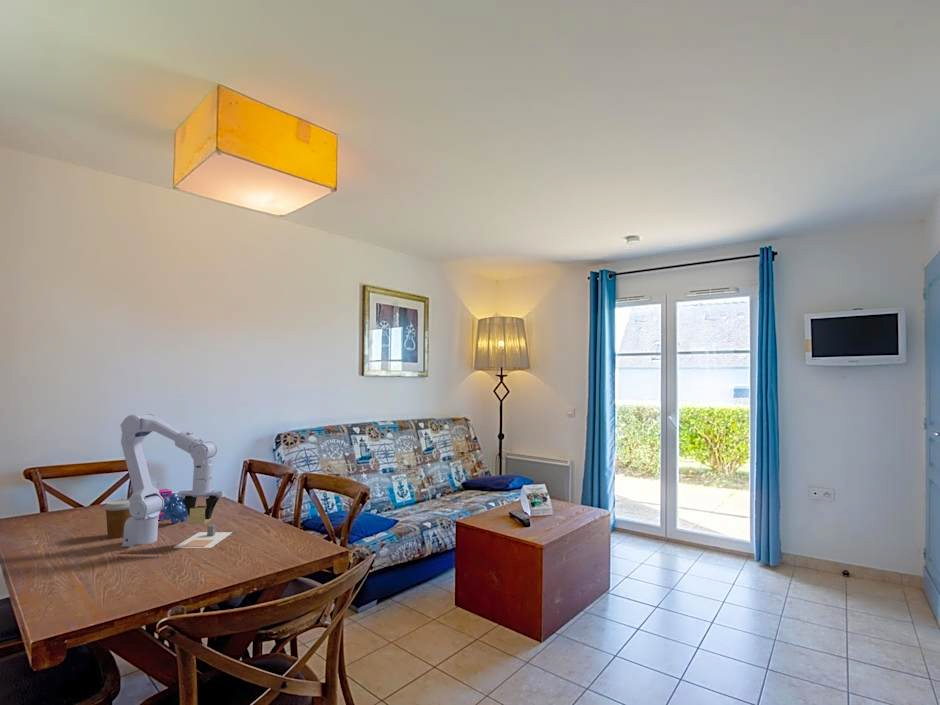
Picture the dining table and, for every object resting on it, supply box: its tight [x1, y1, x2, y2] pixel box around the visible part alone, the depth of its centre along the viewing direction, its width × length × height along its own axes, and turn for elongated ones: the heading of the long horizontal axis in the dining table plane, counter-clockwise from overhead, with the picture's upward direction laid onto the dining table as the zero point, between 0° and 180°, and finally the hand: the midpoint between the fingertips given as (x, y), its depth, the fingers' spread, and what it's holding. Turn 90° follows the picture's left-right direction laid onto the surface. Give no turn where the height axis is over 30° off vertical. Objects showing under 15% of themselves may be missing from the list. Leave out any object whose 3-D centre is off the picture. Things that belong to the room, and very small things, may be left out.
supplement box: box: [158, 488, 173, 521], centre depth 204 cm, size 6×6×12 cm
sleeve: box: [188, 504, 212, 525], centre depth 172 cm, size 5×5×5 cm
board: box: [173, 524, 233, 549], centre depth 176 cm, size 12×18×4 cm, turn 4°
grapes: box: [161, 492, 189, 524], centre depth 197 cm, size 12×7×12 cm, turn 132°
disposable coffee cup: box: [104, 498, 132, 539], centre depth 181 cm, size 10×10×12 cm
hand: (200, 518), depth 172 cm, fingers closed on sleeve, 5 cm apart
